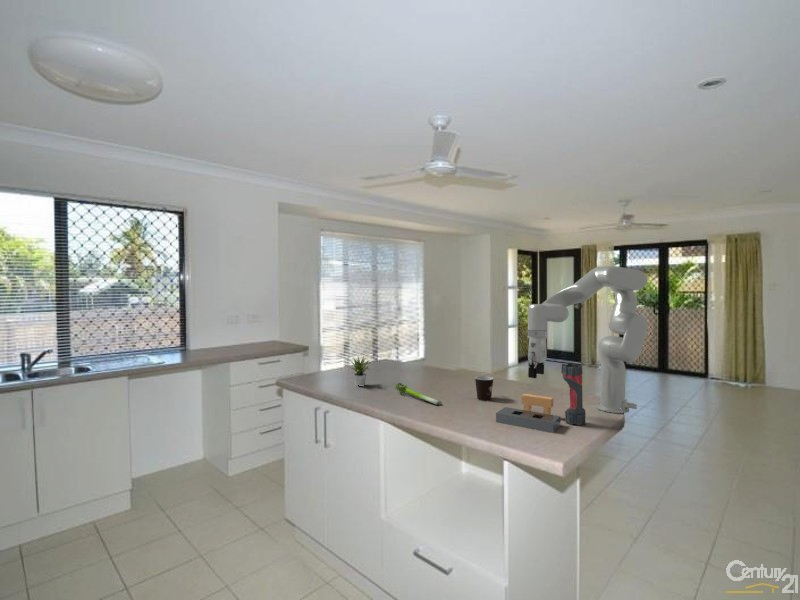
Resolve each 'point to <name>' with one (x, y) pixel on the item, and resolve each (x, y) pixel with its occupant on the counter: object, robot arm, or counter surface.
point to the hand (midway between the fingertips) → (536, 375)
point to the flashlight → (574, 394)
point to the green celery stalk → (415, 393)
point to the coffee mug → (484, 387)
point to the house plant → (360, 371)
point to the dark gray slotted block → (528, 419)
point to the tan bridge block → (537, 402)
